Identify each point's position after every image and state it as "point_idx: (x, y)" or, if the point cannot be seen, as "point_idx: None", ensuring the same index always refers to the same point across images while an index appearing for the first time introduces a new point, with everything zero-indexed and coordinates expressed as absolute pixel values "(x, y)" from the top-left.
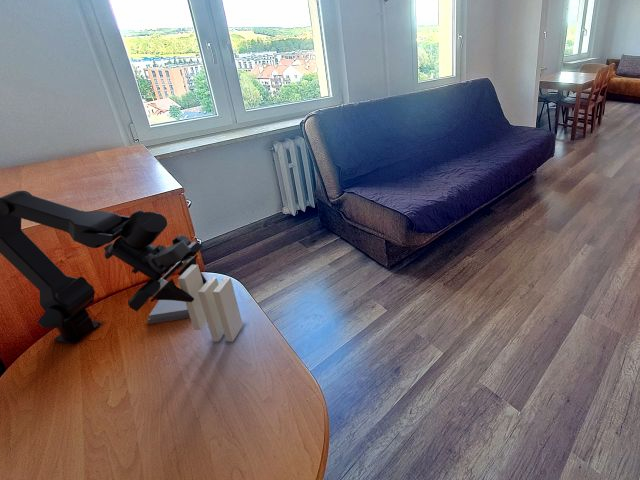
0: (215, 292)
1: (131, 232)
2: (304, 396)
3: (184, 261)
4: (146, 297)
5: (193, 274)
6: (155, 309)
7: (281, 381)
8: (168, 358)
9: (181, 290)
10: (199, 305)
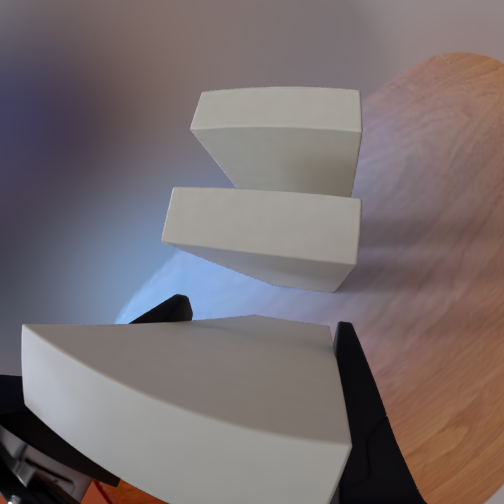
0: (361, 115)
1: None
2: (446, 66)
3: (17, 465)
4: None
5: (154, 361)
6: None
7: (434, 95)
8: None
9: (349, 425)
10: (290, 329)
